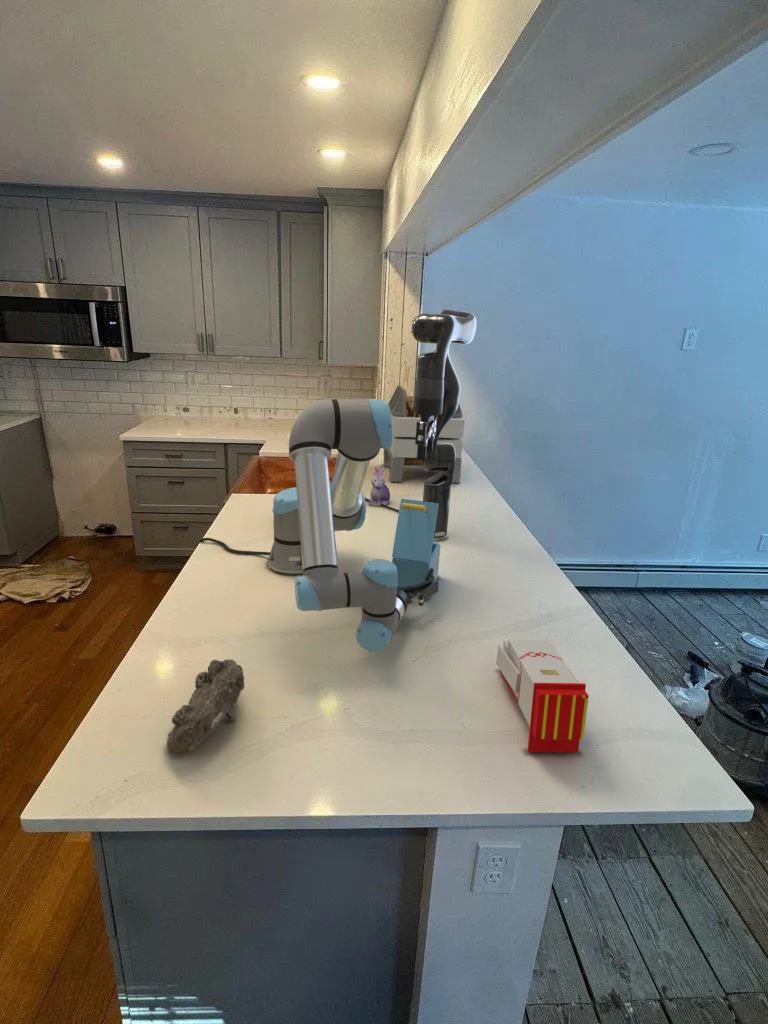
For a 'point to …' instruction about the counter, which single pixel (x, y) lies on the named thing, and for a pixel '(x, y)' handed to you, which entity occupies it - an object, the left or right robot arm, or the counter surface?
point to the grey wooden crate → (405, 436)
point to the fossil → (206, 705)
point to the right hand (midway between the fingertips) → (424, 456)
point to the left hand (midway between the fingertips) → (412, 569)
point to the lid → (415, 530)
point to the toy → (545, 694)
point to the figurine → (379, 488)
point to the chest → (416, 568)
